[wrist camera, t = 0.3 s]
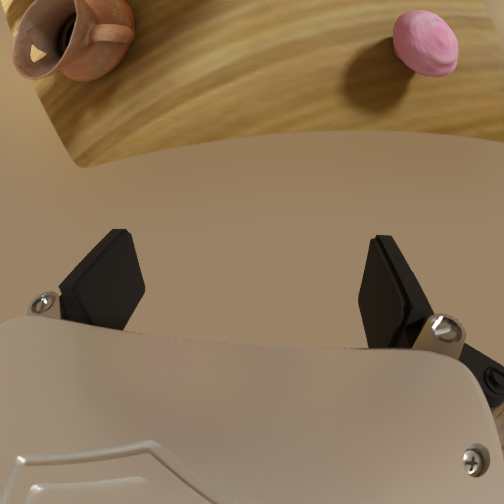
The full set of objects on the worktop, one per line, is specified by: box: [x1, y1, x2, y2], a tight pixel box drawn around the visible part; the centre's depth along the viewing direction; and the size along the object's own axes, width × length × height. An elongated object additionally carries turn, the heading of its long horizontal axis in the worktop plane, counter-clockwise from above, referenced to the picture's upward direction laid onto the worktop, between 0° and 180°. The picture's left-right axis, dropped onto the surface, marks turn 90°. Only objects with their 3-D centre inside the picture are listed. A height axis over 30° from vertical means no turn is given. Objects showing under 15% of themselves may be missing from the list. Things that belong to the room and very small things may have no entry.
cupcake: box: [393, 10, 458, 77], centre depth 23 cm, size 9×9×10 cm
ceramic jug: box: [12, 0, 135, 82], centre depth 24 cm, size 18×14×14 cm
